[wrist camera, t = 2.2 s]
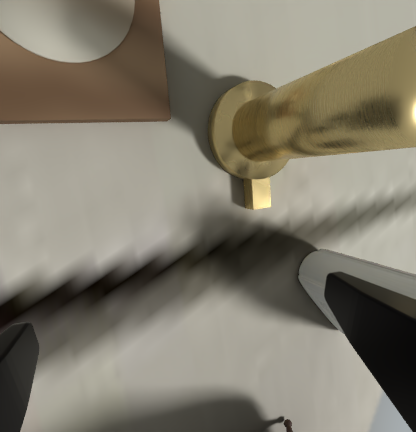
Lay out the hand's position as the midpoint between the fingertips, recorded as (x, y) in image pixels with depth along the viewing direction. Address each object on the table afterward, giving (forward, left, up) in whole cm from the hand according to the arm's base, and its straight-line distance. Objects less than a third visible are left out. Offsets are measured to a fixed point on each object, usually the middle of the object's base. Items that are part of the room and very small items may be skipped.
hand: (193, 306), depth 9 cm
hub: (+5, -10, -12) cm, 16 cm away
